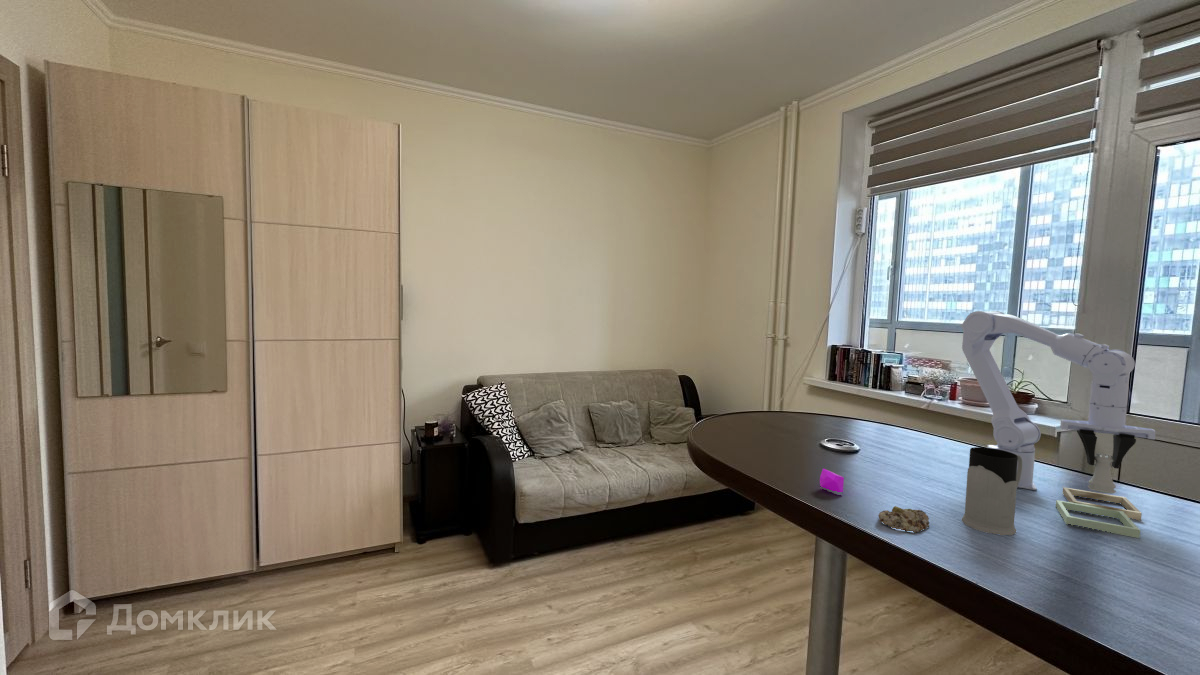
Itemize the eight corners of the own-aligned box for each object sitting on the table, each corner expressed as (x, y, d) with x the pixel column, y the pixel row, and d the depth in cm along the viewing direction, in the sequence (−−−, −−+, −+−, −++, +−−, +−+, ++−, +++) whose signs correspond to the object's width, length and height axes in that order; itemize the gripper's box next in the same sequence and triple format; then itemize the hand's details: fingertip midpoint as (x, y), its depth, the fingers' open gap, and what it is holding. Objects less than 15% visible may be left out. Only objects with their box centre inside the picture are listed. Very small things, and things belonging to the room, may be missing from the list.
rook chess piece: (1121, 495, 106) (1124, 458, 106) (1096, 492, 107) (1098, 455, 107) (1106, 489, 110) (1109, 454, 110) (1082, 486, 112) (1084, 451, 112)
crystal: (818, 492, 116) (819, 473, 116) (822, 485, 121) (823, 467, 120) (842, 497, 113) (843, 477, 113) (845, 490, 118) (846, 471, 117)
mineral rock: (902, 526, 94) (872, 499, 101) (895, 544, 95) (866, 517, 103) (947, 523, 97) (914, 497, 104) (940, 541, 98) (908, 514, 105)
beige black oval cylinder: (951, 520, 102) (956, 448, 101) (993, 509, 107) (998, 441, 106) (1000, 538, 94) (1005, 461, 93) (1042, 526, 99) (1047, 453, 98)
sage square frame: (1066, 524, 101) (1066, 516, 100) (1055, 506, 109) (1056, 499, 109) (1139, 538, 95) (1140, 530, 95) (1122, 518, 103) (1122, 511, 103)
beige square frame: (1072, 508, 108) (1073, 501, 108) (1062, 493, 117) (1063, 487, 117) (1141, 520, 103) (1141, 513, 102) (1124, 504, 111) (1125, 497, 111)
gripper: (1067, 403, 109) (1062, 463, 110) (1163, 412, 101) (1157, 477, 102) (1060, 398, 115) (1055, 456, 116) (1150, 406, 107) (1145, 468, 108)
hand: (1102, 465), depth 109 cm, fingers closed on rook chess piece, 3 cm apart
